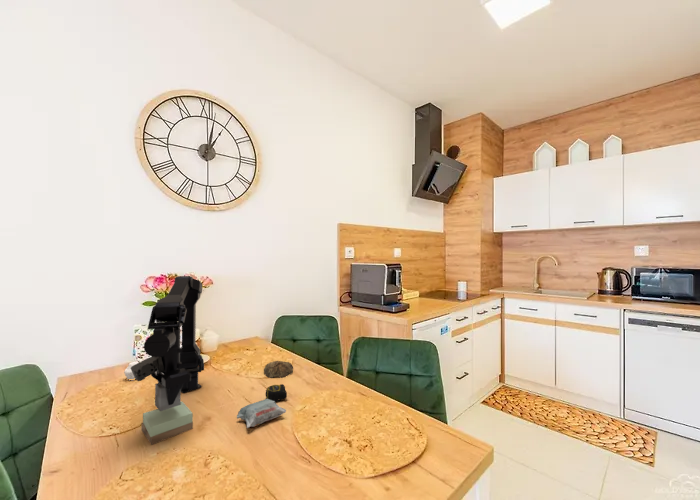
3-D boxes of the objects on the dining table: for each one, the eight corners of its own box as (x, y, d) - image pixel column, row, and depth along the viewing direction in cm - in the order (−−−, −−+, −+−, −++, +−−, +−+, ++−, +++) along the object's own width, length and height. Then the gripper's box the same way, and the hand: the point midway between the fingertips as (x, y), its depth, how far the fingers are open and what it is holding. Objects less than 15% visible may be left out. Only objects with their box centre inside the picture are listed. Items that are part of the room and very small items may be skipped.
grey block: (154, 405, 84) (155, 383, 84) (174, 399, 87) (174, 378, 88) (160, 411, 80) (160, 389, 81) (180, 404, 84) (180, 383, 84)
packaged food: (286, 419, 89) (286, 402, 89) (247, 435, 81) (247, 416, 81) (272, 408, 95) (272, 393, 95) (235, 422, 87) (235, 405, 88)
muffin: (121, 380, 118) (121, 362, 118) (138, 374, 123) (138, 357, 123) (128, 383, 115) (128, 365, 115) (145, 377, 120) (146, 360, 120)
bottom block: (141, 432, 83) (141, 423, 83) (180, 418, 91) (180, 409, 91) (151, 447, 76) (151, 437, 77) (192, 430, 84) (192, 421, 84)
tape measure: (287, 401, 100) (287, 390, 100) (265, 404, 98) (266, 393, 98) (285, 393, 106) (285, 382, 106) (265, 395, 104) (265, 385, 104)
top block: (142, 422, 84) (142, 413, 84) (182, 409, 91) (182, 401, 91) (150, 437, 77) (150, 427, 77) (192, 422, 84) (192, 413, 84)
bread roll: (264, 368, 130) (264, 357, 130) (292, 366, 133) (292, 355, 133) (262, 380, 118) (262, 367, 118) (294, 377, 121) (294, 365, 121)
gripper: (126, 345, 85) (125, 400, 84) (143, 360, 72) (142, 425, 72) (170, 337, 93) (169, 388, 93) (192, 350, 80) (191, 408, 80)
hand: (167, 401), depth 84 cm, fingers closed on grey block, 5 cm apart
